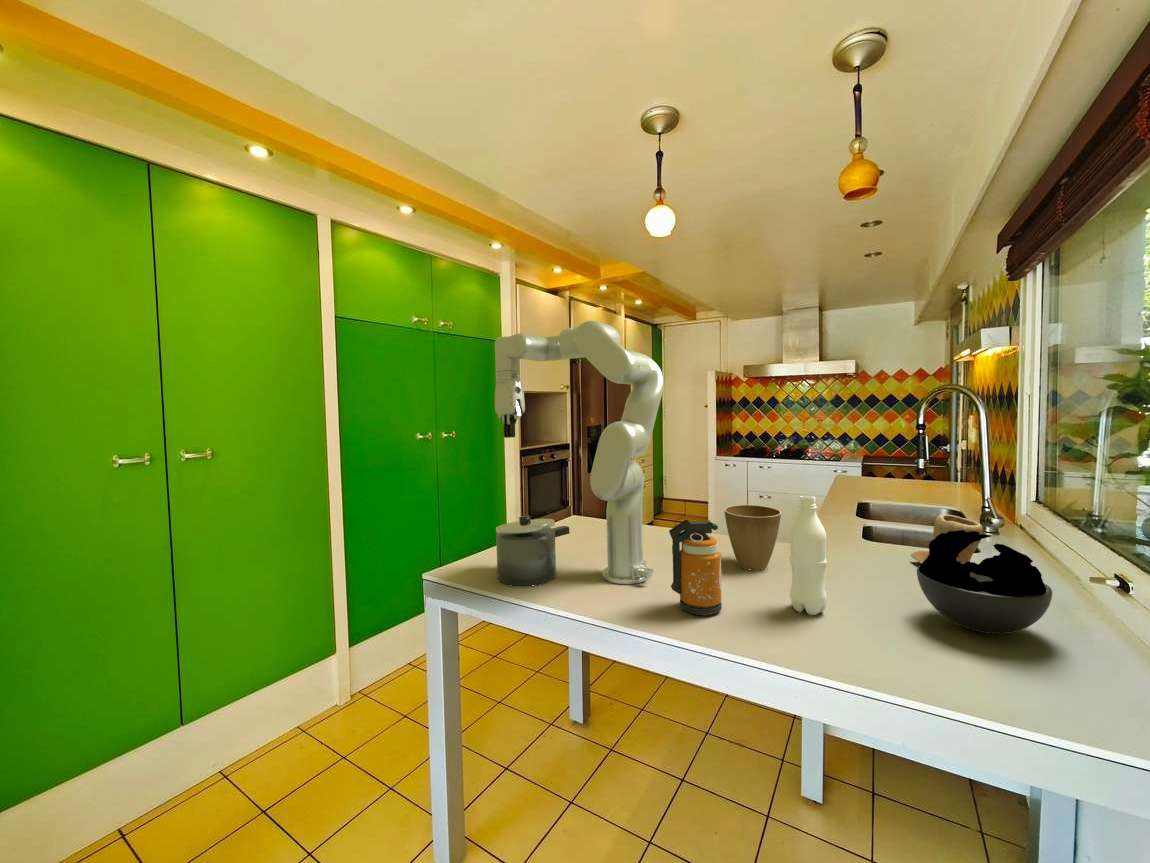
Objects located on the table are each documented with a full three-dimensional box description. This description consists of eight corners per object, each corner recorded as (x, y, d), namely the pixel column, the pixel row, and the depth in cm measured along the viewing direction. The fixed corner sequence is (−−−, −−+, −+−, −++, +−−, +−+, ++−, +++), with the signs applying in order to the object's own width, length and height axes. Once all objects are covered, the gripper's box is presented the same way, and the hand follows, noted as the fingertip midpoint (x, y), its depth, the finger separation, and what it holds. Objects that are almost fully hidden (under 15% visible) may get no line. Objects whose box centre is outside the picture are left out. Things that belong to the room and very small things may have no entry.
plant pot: (713, 563, 135) (712, 508, 135) (752, 555, 142) (751, 502, 141) (753, 579, 122) (752, 518, 121) (793, 570, 128) (793, 511, 127)
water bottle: (812, 620, 98) (811, 501, 97) (782, 607, 104) (782, 496, 103) (834, 612, 101) (833, 497, 100) (804, 601, 108) (803, 492, 106)
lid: (485, 532, 129) (483, 521, 129) (531, 522, 140) (530, 511, 140) (519, 535, 117) (517, 522, 117) (566, 523, 128) (565, 512, 128)
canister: (726, 617, 100) (725, 524, 100) (674, 618, 101) (673, 525, 100) (715, 600, 109) (714, 515, 108) (667, 601, 110) (665, 516, 109)
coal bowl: (919, 599, 107) (920, 517, 106) (1043, 623, 94) (1045, 530, 93) (912, 633, 91) (913, 537, 90) (1060, 666, 78) (1061, 555, 78)
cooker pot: (586, 569, 133) (585, 527, 133) (520, 591, 118) (519, 544, 117) (546, 556, 146) (545, 518, 146) (483, 575, 131) (481, 532, 130)
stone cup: (993, 583, 115) (994, 523, 114) (937, 581, 118) (938, 521, 117) (958, 563, 130) (958, 509, 129) (909, 561, 132) (909, 509, 132)
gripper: (532, 376, 142) (534, 437, 142) (504, 379, 152) (505, 436, 153) (512, 375, 136) (514, 438, 137) (484, 378, 147) (485, 437, 148)
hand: (509, 437), depth 145 cm, fingers closed
